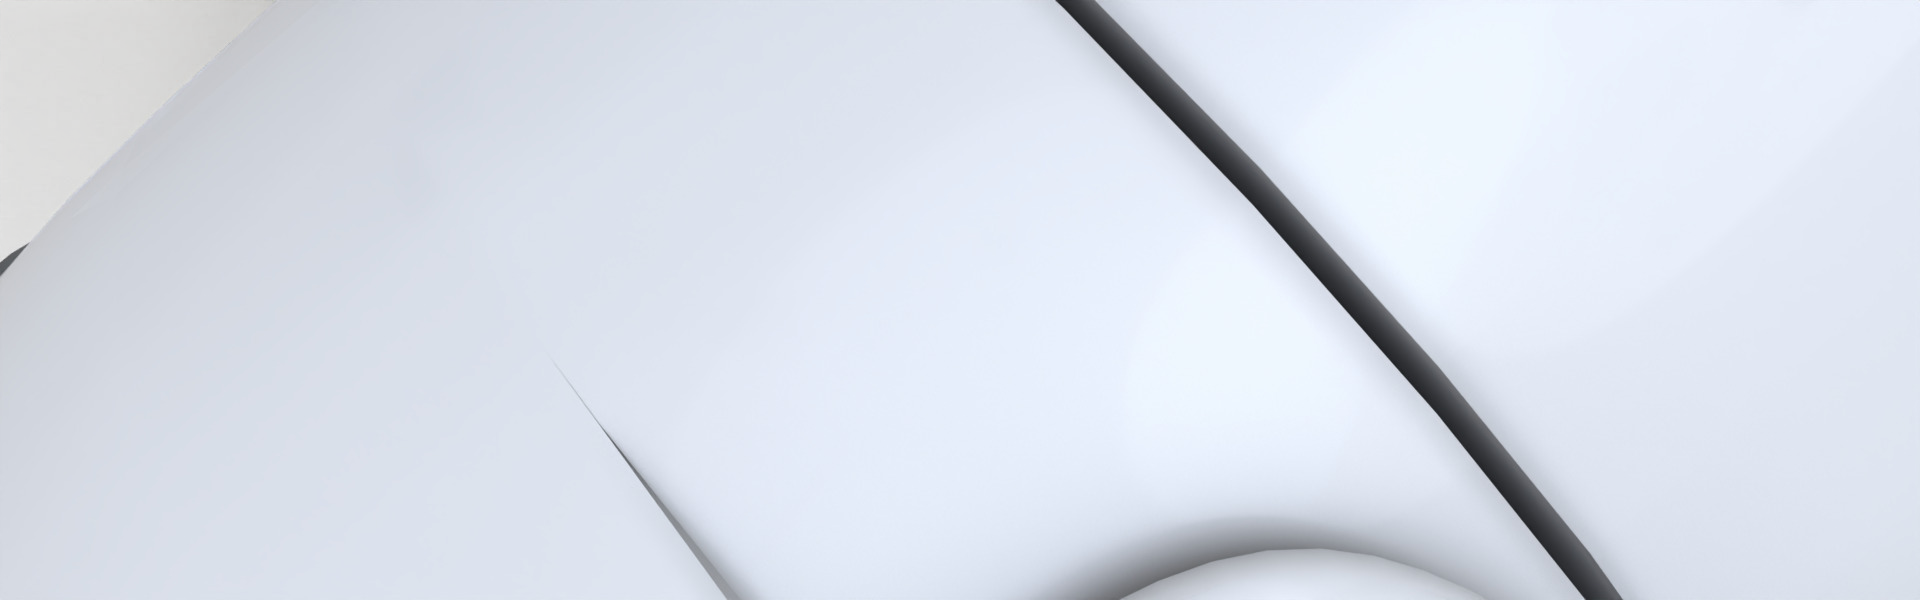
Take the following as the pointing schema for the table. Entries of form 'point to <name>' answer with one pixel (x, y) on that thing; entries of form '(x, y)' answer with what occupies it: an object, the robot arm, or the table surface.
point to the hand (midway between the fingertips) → (1138, 527)
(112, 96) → the table surface
